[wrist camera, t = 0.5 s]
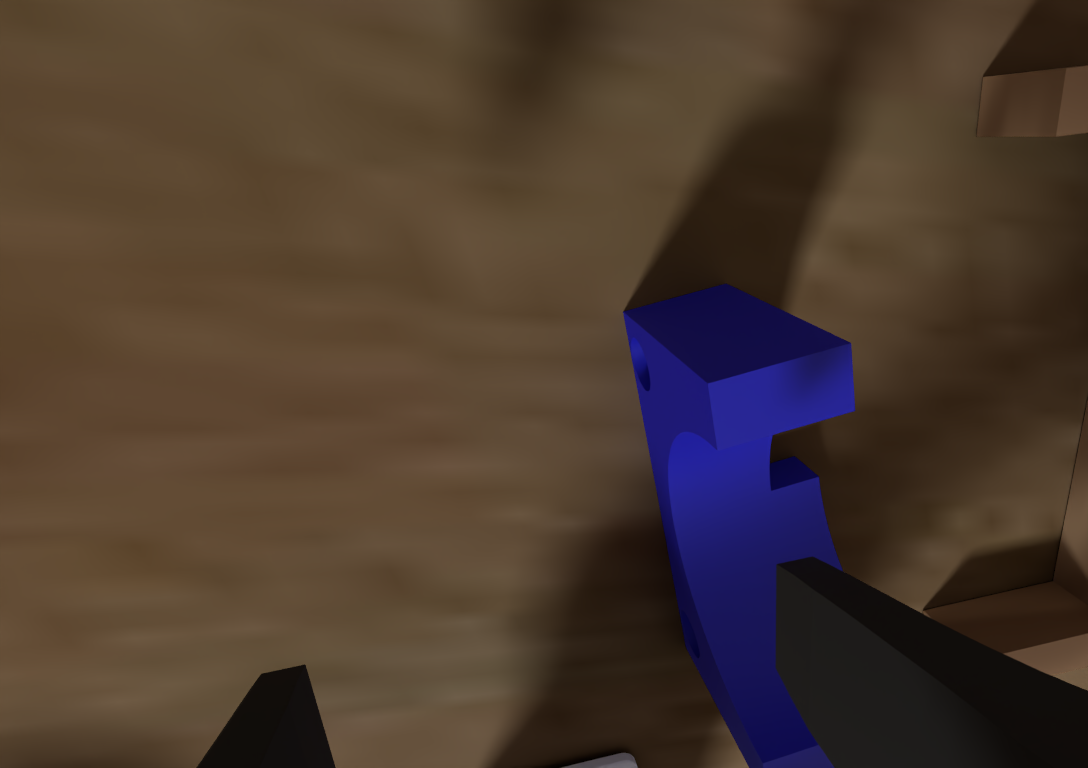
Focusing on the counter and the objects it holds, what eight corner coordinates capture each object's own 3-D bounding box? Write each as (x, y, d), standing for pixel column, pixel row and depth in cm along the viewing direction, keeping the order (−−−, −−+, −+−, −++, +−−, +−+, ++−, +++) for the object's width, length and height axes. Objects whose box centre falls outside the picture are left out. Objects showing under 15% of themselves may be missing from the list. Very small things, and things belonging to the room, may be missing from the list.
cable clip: (807, 605, 24) (927, 750, 18) (684, 644, 23) (768, 804, 18) (774, 268, 19) (920, 323, 14) (621, 310, 19) (707, 384, 13)
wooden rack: (1081, 605, 26) (1147, 651, 24) (919, 643, 25) (971, 695, 23) (1199, 52, 19) (1308, 40, 17) (983, 77, 18) (1066, 68, 16)
